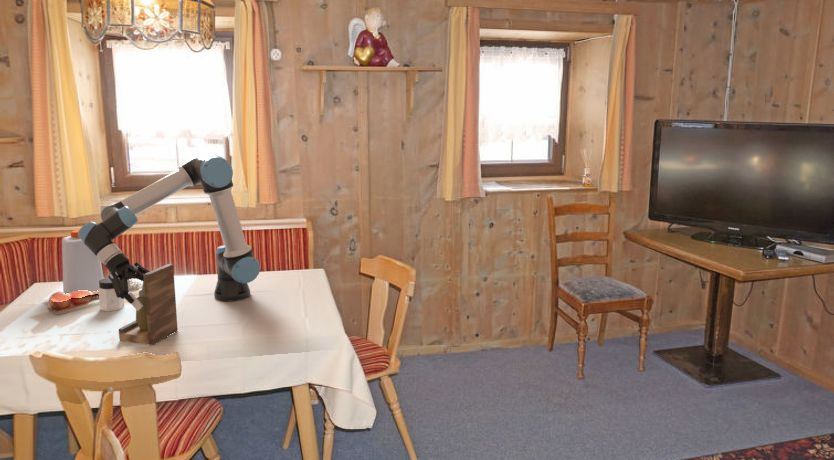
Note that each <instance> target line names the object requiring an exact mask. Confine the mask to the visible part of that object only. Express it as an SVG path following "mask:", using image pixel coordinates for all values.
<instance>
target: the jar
mask: <svg viewBox="0 0 834 460" xmlns="http://www.w3.org/2000/svg"><path fill="white" fill-rule="evenodd" d="M98 291H99V294H98V299H99V308H100V309H99V310H101V311H104V312H113V311H120V310H121V309H123V308H124V306H125V301H124V300H125V298H124V299H121V298H118V297H117V296H116V293H115V290H114V287H113V284H112V282H111V280H110V279H109V277H104V279H101V280H100V281H99V288H98ZM119 293H120V292H119Z"/></svg>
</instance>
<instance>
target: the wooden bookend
mask: <svg viewBox="0 0 834 460" xmlns="http://www.w3.org/2000/svg"><path fill="white" fill-rule="evenodd" d="M149 271H150V270H149ZM143 277H144V289H145V302H146V315H147V327H148V331H143V330H140V328H139V326H138V324H137V322H136V319H135V320H134V321H132V322H130V323H128V324H126V325H124V326H122V327H119V328H118V338H119V341H120V342H123V343H124V342H125V343H126V342H127V343H133V344H134V343H135V344H141V345H147V344H149V345H148V346H155V345H157V344H158V342H159V343H160V342H162V341H163V339H164V338H165V339H167V338H168V337H167V336H169V335H170V334H172V333H174V332H175V333H177V332H178V331H179V329H178V314H177V303H176V301H177V300H176V287H175V286H176V285H175V271H174V264H173V263H167V264H165V265H162V266H160V267H158V268H155V269H152V270H151V271H150V272H148V273H145V274H143ZM177 330H178V331H177ZM176 331H177V332H176ZM175 333H174V334H175ZM172 335H173V334H172ZM170 336H171V335H170ZM170 336H169V337H170ZM166 337H167V338H166ZM165 339H164V340H165ZM161 340H162V341H161ZM156 343H157V344H156Z"/></svg>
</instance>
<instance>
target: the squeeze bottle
mask: <svg viewBox="0 0 834 460" xmlns="http://www.w3.org/2000/svg"><path fill="white" fill-rule="evenodd" d="M136 298H137V299H138V300H139V302H140V303H141V304H142V305H143V307H142V308H141V309H140V310H139V311H137V310H136V309H135V310H136V311H135V320H136V322H137V324H138V326H139V328H140V330H143V331H148V327H147V315H146V302H145V289H144V281H142V287H141V290H139V291H138V296H137V297H136Z"/></svg>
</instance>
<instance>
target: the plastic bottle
mask: <svg viewBox="0 0 834 460" xmlns="http://www.w3.org/2000/svg"><path fill="white" fill-rule="evenodd" d="M79 230H80V229H74V230H72V231H71V232H70V235H69V236H65V237H63V238H62V240H61V251H62V252H61V254H62V256H61V259H62V288H63V289H62V290H63V291H62V292H63V293H64V292H65V293H70V292H73V291H78V290H88V291H91V292H93V291H97V290H98V288H99V281H100V280H101V279H105V277H104V274H103V273H104V271H103V267H102V262H101V261H100V260H99V259H98V257H96V255H95V254H94V253H93V252H92V251H91V250H90V249H89V248H88V247H87V246H86V245H85V244H84V242H83V241H82V240H81V239H80V237H79V236H78V231H79ZM65 293H64V294H65Z"/></svg>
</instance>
